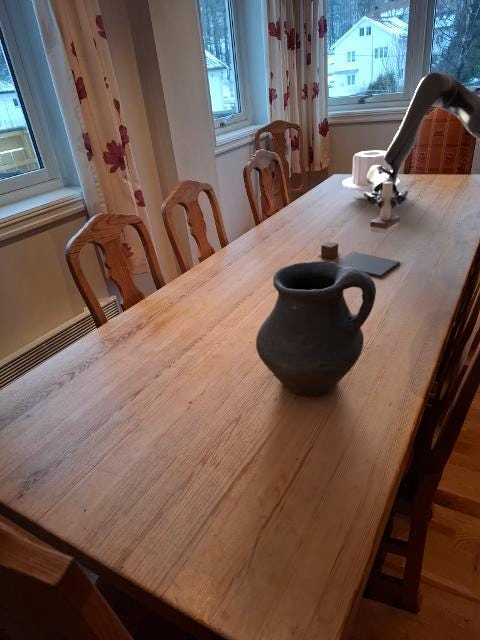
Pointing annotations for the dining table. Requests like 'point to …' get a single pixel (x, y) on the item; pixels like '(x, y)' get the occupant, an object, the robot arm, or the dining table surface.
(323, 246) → the brown cube
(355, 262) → the mat
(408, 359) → the dining table surface
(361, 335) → the pitcher
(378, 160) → the flanged gear
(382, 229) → the tall white pillar
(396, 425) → the dining table surface
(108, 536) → the dining table surface
